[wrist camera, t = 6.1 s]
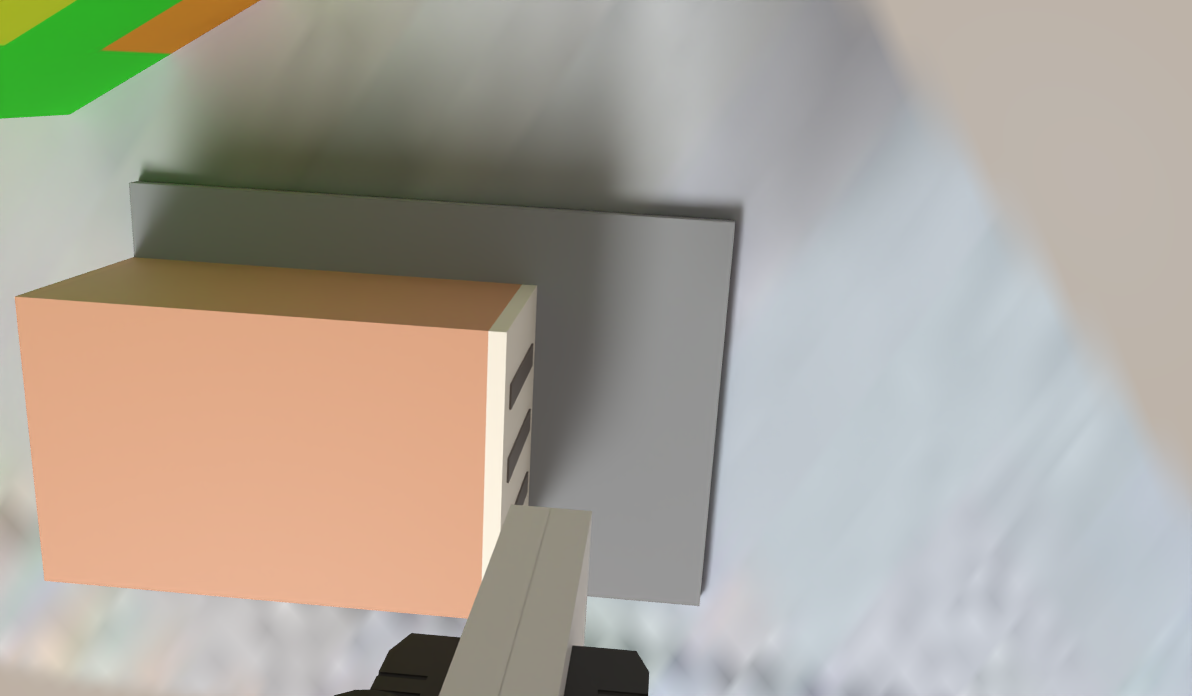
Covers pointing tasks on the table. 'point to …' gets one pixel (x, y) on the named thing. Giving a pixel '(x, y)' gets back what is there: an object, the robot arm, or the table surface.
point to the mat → (562, 339)
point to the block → (278, 431)
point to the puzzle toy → (91, 46)
